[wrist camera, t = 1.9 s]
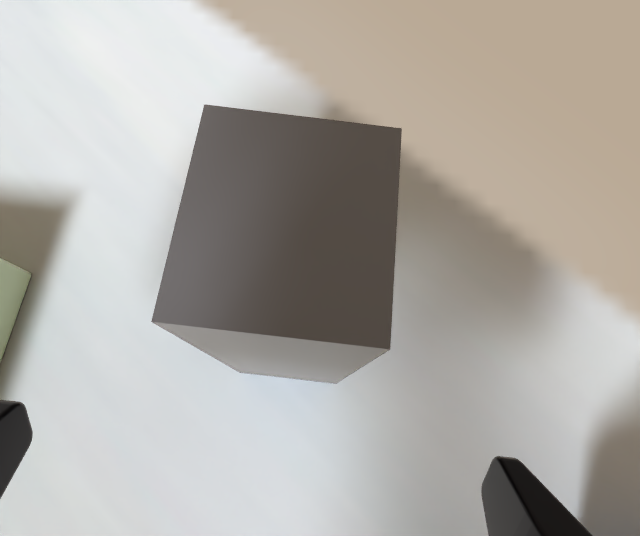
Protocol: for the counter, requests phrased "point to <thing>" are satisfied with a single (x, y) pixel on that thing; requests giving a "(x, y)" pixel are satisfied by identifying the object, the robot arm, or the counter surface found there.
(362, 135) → the grey square pillar
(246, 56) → the counter surface
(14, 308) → the pale green tray
